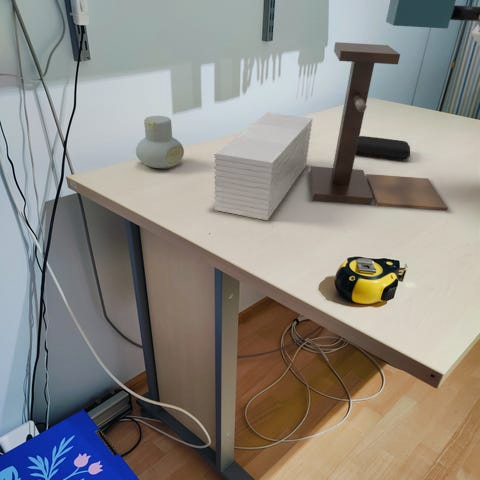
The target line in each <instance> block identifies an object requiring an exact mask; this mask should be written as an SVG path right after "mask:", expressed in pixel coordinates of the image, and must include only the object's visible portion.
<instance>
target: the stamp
mask: <svg viewBox="0 0 480 480" xmlns="http://www.w3.org/2000/svg"><path fill="white" fill-rule="evenodd" d="M456 1H457V0H389V5H388V8H387V9H388V10H387V14H386V19H385V23H387V24H389V25H392V26H393V27H413V28H429V29H430V28H431V29H448V28H449V26H450V22H451V21H462V22H476V21H480V20H479V19H478V17H477V16H478V14H479V13H480V7H477V5H475V6H474V5H473V6H472V5H458V4H457V5H456Z"/></svg>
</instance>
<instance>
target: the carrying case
mask: <svg viewBox="0 0 480 480" xmlns="http://www.w3.org/2000/svg"><path fill="white" fill-rule="evenodd" d="M356 155H357V156H361V157H362V156H363V157H369V158H378V159H385V160H394V161H405V160H407V159H408V158H410V157H411V145H409V143H408V141H405V140H399V139H391V138H383V137H377V136H376V137H374V136H365V135H359V140H358V145H357V150H356Z"/></svg>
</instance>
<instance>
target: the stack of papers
mask: <svg viewBox="0 0 480 480" xmlns="http://www.w3.org/2000/svg"><path fill="white" fill-rule="evenodd" d="M312 126H313V117H306V116H297V115H290V114H283V113H276V112H266V113H265V114H264V115H262V116H261V117H260V118H258V119H257V120H256V121H255V122H253V123H252V124H251V125H250V126H248V127H247V128H246V129H244V130H242V132H240V133H239V134H238V135H237V136H235V137H234V138H232V139H231V140H230V141H228V142H227V143H226V144H225V145H224V146H222V147H221V148H220V149H219V150H217V151H216V152H214V211H218V212H223V213H228V214H232V215H239V216H242V217H243V216H244V217H248V218H253V219H259V220H262V221H263V220H264V221H269V219H270V218H271V216H272V215H273V213H274V212H275V210H276V209H277V208H278V206H279V205H280V204H281V202H282V201H283V199H284V198H285V196H286V195H287V194H288V192H289V191H290V190H291V188H292V187H293V185H294V184H295V182H296V181H297V179H298V178H299V177H300V175H301V174H302V172H303V171H304V170H305V168H306V167H307V161H308V155H309V154H308V153H309V147H310V139H311V132H312V128H313V127H312Z"/></svg>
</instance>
